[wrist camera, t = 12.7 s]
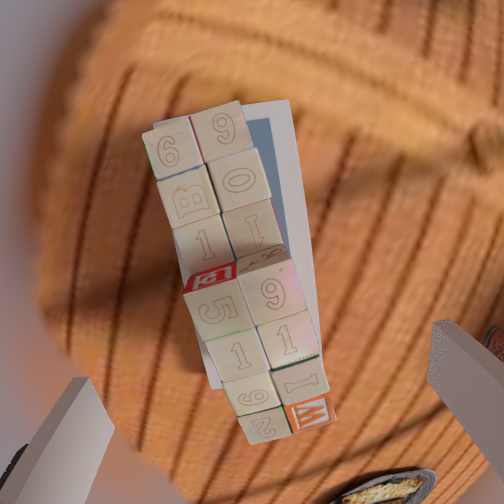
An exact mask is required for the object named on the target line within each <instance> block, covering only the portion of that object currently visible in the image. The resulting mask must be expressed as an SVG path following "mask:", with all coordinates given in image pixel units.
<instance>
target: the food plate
mask: <svg viewBox="0 0 504 504" xmlns="http://www.w3.org/2000/svg"><path fill="white" fill-rule="evenodd" d="M436 477H437V476H436V473H435V472H434V471H433V470H432V471H431V470H430V469H427V468H425V469H420V470H416V471H414V470H413V471H407V472H402V473H396V474H390V475H384V476H382V477H378V478H374V479H371V480H368V481H366V482H364V483H362V484H360V485H358V486H356V487H354V488H352V489H350V490H348V491H346V492H344V493H342V494H341V495H339V496H338V497H337V498H336V499H333V500H331V501H330V502H329V503H328V504H420V503H421V502H423V500H424V499H425V498H426V497H427V495H428V494H429V493H430V491H432V489H433V488H434V486H435V481H436ZM408 493H410V494H409V495H408V496H407V497H406V498H404V497H398V498H394V497H395V496H398V495H403V494H408ZM391 497H393V498H391Z"/></svg>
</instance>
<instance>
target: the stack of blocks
mask: <svg viewBox="0 0 504 504" xmlns="http://www.w3.org/2000/svg"><path fill="white" fill-rule="evenodd" d="M142 139H143V142H144V145H145V149H146V152H147V155H148V158H149V161H150V164H151V167H152V170H153V173H154V176H155V178H156V180H157V182H156V184H157V188H158V191H159V194H160V197H161V200H162V202H163V205H164V208H165V211H166V214H167V217H168V219H169V222H170V225H171V227H172V230H173V234H174V237H175V240H176V243H177V245H178V248H179V251H180V253H181V256H182V258H183V261H184V263H185V266H186V268H187V270H188V272H189V274H190V275H191V276H190V277H189V279H188V281H187V284H186V286H185V289H184V291H183V294H182V295H183V298H184V300H185V303H186V305H187V307H188V310H189V312H190V314H191V317H192V319H193V321H194V324H195V326H196V328H197V330H198V333H199V335H200V337H201V340H202V341H204V343H205V345H206V348H207V350H208V353H209V355H210V357H211V359H212V361H213V363H214V365H215V368H216V370H217V372H218V374H219V376H220V378H221V384H222V387H223V389H224V391H225V393H226V395H227V397H228V399H229V402H230V404H231V406H232V408H233V410H234V412H235V414H236V415H237V419H238V422H239V424H240V426H241V428H242V430H243V432H244V434H245V436H246V438H247V440H248V442H249V444H250V445H254V444H258V443H262V442H267V441H271V440H275V439H279V438H284V437H288V436H291V434H292V433H294V434H297V433H302V432H305V431H308V430H311V429H314V428H317V427H321V426H324V425H326V424H329V423H332V422H335V421H336V416H335V412H334V408H333V404H332V400H331V396H330V392H329V390H330V389H329V385H328V381H327V378H326V374H325V371H324V367H323V364H322V360H321V357H320V355H319V352H320V347H319V343H318V340H317V337H316V333H315V330H314V326H313V323H312V319H311V316H310V313H309V311H308V309H307V305H306V301H305V298H304V294H303V291H302V288H301V285H300V281H299V278H298V275H297V271H296V268H295V265H294V261H293V259H292V257H291V256H290V254H289V252H288V250H287V249H286V247H285V245H284V241H283V238H282V235H281V231H280V228H279V224H278V221H277V218H276V214H275V211H274V207H273V204H272V201H271V196H272V194H271V191H270V188H269V184H268V181H267V177H266V174H265V171H264V168H263V165H262V162H261V159H260V155H259V152H258V149H257V148H256V147H255V146H254V144H253V141H252V138H251V135H250V132H249V129H248V125H247V122H246V119H245V116H244V113H243V110H242V107H241V104H240V101H239V100H236V101H233V102H230V103H226V104H223V105H220V106H217V107H213V108H210V109H207V110H204V111H201V112H198V113H195V114H192V115H190V116H189V117H186V118H183V119H180V120H177V121H174V122H171V123H169V124H166V125H164V126H161V127H158V128H156V129H153V130H151V131H148V132H146V133H143V134H142Z"/></svg>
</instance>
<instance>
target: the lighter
mask: <svg viewBox="0 0 504 504" xmlns="http://www.w3.org/2000/svg"><path fill="white" fill-rule="evenodd" d="M482 345H483V346H484V347H485V348H487V349H488V350H489V351H490V352H491V353H492V354H494V355H495V356H496V357H497V358H498V359H499V360H501V361H502V362H503V363H504V332H502V331H501V329H500V328H499V327H497V326H492V327H491V328H489V330H488V331H487V333H486V336H485V339H484V341H483V344H482Z"/></svg>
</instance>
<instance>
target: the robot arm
mask: <svg viewBox="0 0 504 504" xmlns="http://www.w3.org/2000/svg"><path fill="white" fill-rule="evenodd" d="M426 380H427V381H428V383H429V384H430V385H431V386H432V388H433V389H434V390H435V391H436V393H437V394H438V395H439V396H440V398H441V399H442V400H443V401H444V403H445V404H446V405H447V407H448V408H449V409H450V410H451V412H452V413H453V414H454V416H455V417H456V418H457V420H458V421H459V422H460V424H461V425H462V426H463V427H464V429H465V430H466V431H467V433H468V434H469V435H470V437H471V438H472V439H473V441H474V442H475V444H476V445H477V446H478V448H479V449H480V450H481V452H482V453H483V454H484V456H485V457H486V459H487V460H488V461H489V463H490V464H491V466H492V467H493V468H494V470H495V471H496V472H497V474H498V475H499V477H500V478H501V480H502V481H503V483H504V363H503V362H502V361H501V360H499V359H498V358H497V357H496V356H495V355H494V354H492V353H491V352H490V351H489V350H488V349H487V348H485V347H484V346H483V345H482V344H481V343H479V342H478V341H477V340H476V339H475V338H473V337H472V336H471V335H470V334H468V333H467V332H466V331H465V330H464V329H462V328H461V327H460V326H459V325H457V324H456V323H455V322H454V321H452V320H451V319H450V318H446V319H443V320H440V321H437V322H434V323H433V330H432V340H431V349H430V357H429V365H428V372H427V379H426ZM114 429H115V427H114V425H113V424H112V422H111V420H110V418H109V416H108V414H107V412H106V410H105V408H104V406H103V404H102V402H101V400H100V398H99V396H98V394H97V392H96V390H95V388H94V386H93V384H92V382H91V379H90V377H74V378H73V379H72V381H71V382H70V384H69V385H68V387H67V388H66V389H65V391H64V392H63V394H62V395H61V397H60V398H59V399H58V401H57V402H56V404H55V405H54V407H53V408H52V410H51V411H50V413H49V414H48V416H47V417H46V419H45V420H44V422H43V423H42V425H41V426H40V428H39V429H38V431H37V432H36V434H35V435H34V437H33V438H32V440H31V441H30V443H29V444H26V445H25V446H23V447H22V448H21V449H20V450H19V451H17V453H16V454H15V456H14V457H13V459H12V461H11V464H9V465H8V467H7V469H6V472H4V473H3V475H2V477H1V478H0V504H84V503H85V501H86V498H87V495H88V493H89V490H90V488H91V485H92V483H93V480H94V478H95V475H96V473H97V470H98V467H99V465H100V463H101V460H102V458H103V455H104V453H105V451H106V448H107V446H108V443H109V441H110V439H111V436H112V434H113V431H114Z"/></svg>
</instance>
